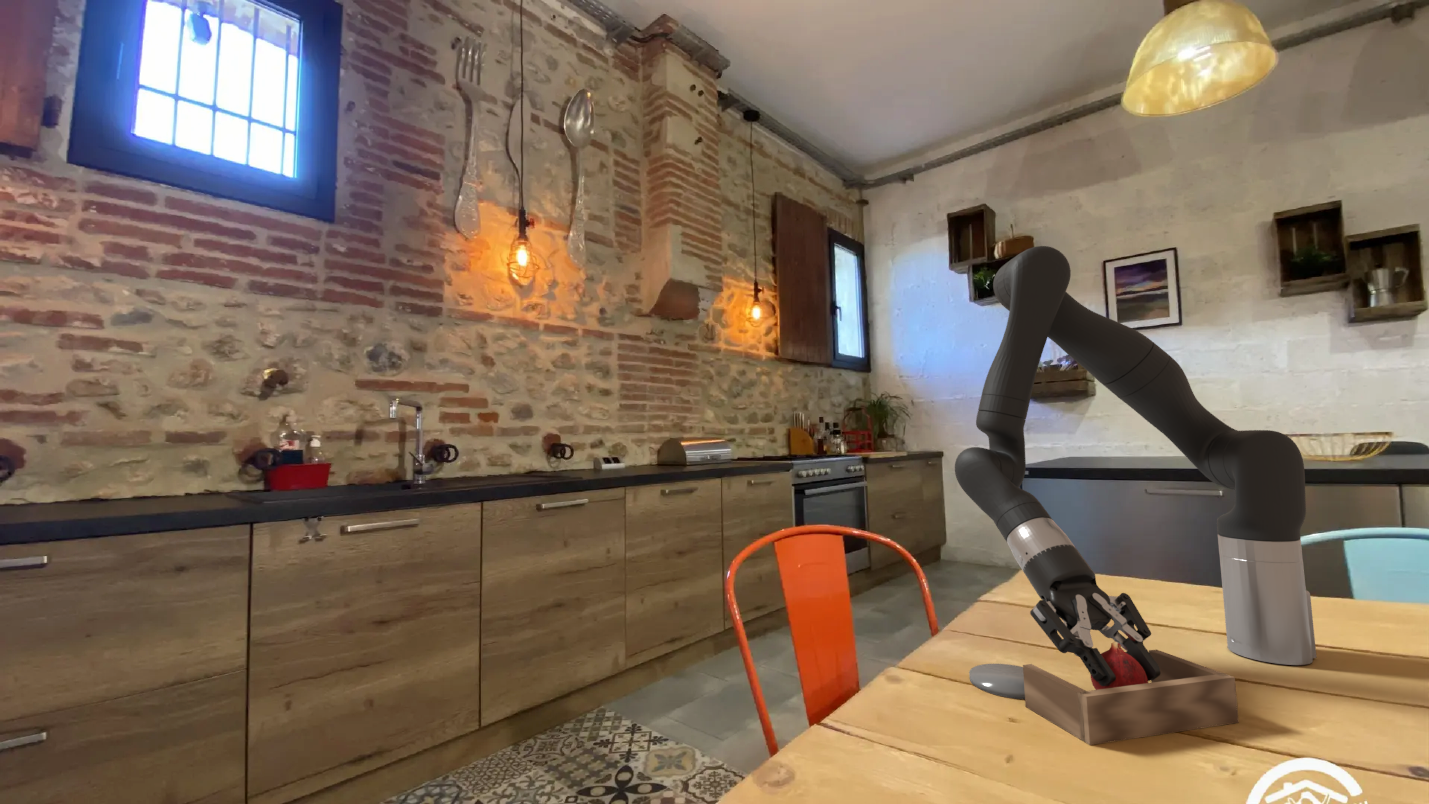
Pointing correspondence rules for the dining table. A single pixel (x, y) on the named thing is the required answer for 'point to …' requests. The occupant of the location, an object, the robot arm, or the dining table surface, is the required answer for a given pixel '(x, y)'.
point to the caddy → (1135, 702)
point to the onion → (1122, 668)
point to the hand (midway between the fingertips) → (1131, 679)
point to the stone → (999, 679)
